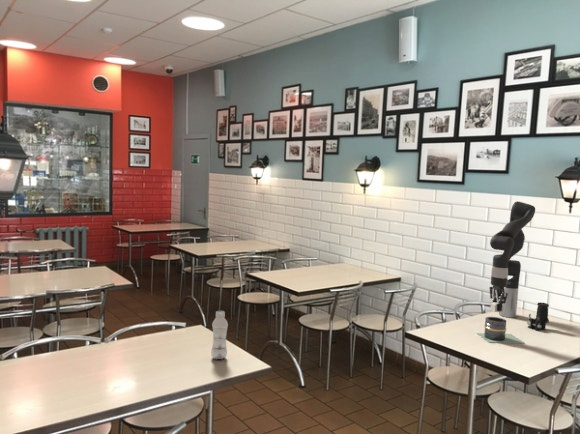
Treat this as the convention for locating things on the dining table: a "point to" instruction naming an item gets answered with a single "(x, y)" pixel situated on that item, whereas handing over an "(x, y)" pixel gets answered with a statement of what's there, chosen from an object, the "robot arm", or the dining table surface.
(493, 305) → the white stepped cube
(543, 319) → the scope
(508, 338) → the mat
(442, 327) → the dining table surface
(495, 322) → the grey faceted ring
